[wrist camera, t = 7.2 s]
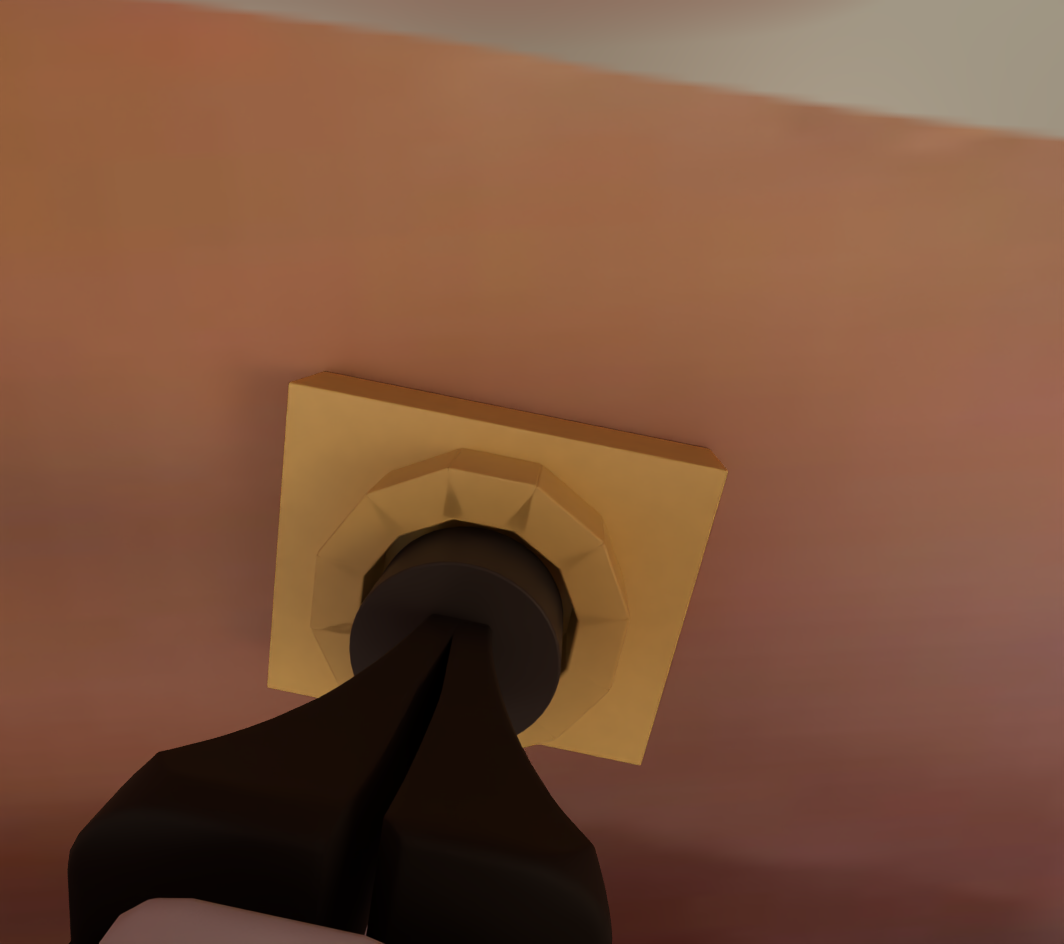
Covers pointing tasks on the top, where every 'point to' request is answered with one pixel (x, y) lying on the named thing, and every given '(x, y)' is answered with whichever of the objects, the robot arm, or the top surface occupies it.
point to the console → (508, 508)
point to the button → (472, 609)
